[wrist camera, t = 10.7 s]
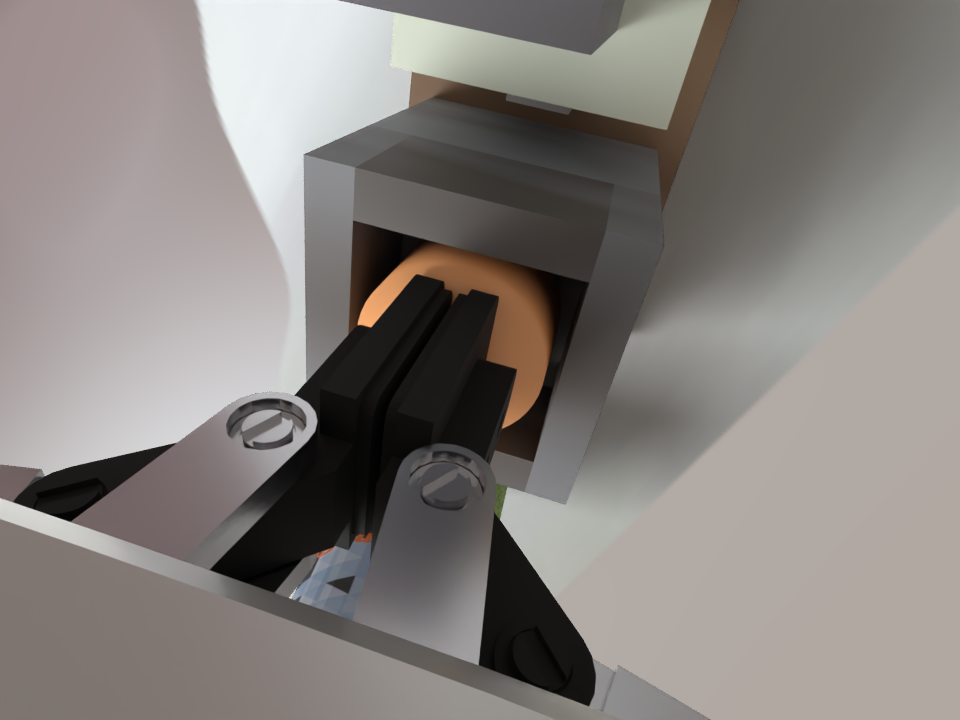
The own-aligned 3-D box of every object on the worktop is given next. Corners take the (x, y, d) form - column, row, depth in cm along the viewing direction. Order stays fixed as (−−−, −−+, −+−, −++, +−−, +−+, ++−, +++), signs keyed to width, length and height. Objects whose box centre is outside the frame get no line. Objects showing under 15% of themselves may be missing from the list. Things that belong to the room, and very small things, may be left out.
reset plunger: (539, 392, 14) (521, 456, 12) (393, 350, 15) (353, 405, 13) (580, 249, 12) (567, 299, 10) (407, 204, 13) (361, 243, 11)
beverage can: (496, 365, 23) (380, 645, 13) (540, 499, 26) (475, 801, 16) (364, 383, 25) (179, 632, 15) (420, 504, 28) (298, 771, 18)
